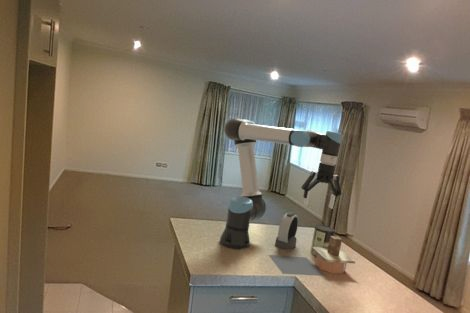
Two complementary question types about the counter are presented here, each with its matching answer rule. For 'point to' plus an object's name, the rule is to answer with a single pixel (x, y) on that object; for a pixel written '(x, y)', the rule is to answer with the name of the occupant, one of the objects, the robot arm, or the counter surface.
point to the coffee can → (321, 237)
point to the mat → (295, 265)
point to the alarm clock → (287, 231)
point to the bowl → (330, 265)
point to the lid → (333, 252)
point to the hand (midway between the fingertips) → (317, 206)
